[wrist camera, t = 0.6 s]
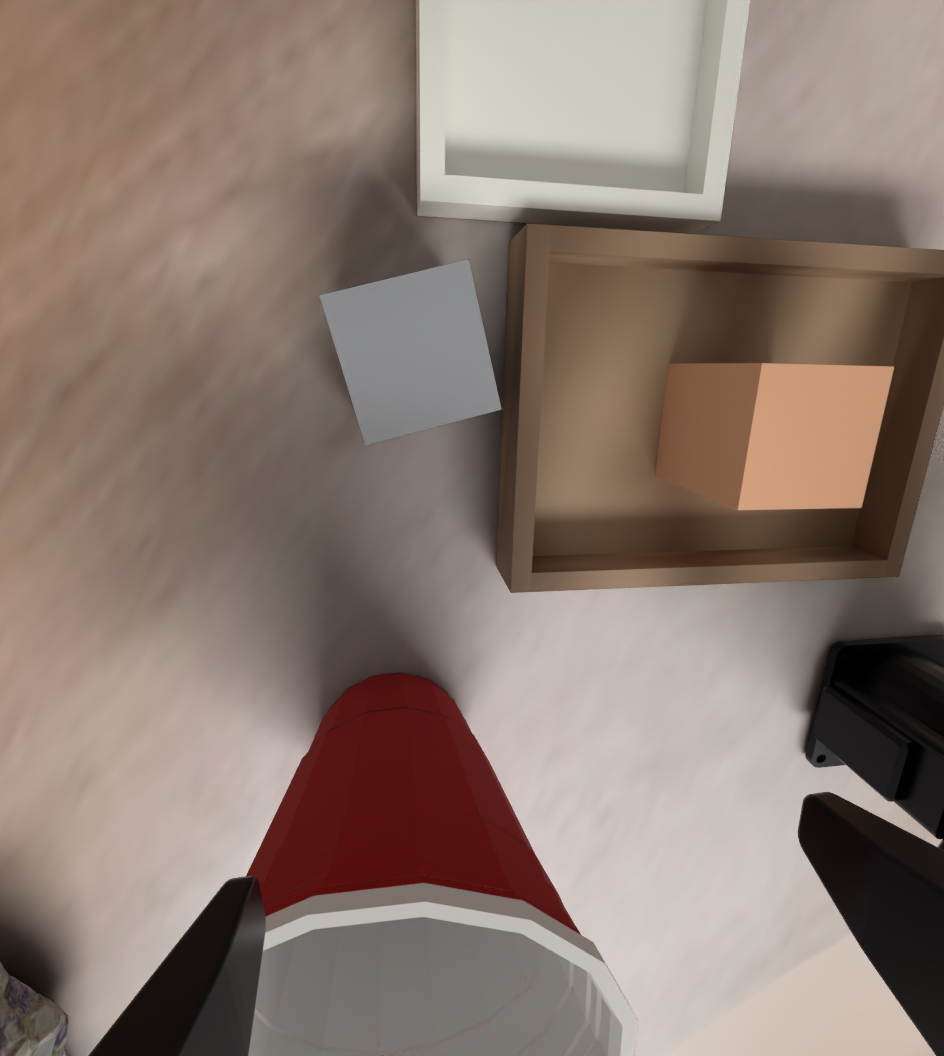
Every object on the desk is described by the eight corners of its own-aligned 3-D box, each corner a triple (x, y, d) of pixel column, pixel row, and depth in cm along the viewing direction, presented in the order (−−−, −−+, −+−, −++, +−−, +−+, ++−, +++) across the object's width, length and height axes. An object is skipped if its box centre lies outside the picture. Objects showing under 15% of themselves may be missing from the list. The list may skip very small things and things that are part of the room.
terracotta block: (771, 366, 20) (894, 366, 15) (752, 475, 21) (861, 508, 16) (668, 363, 19) (762, 363, 14) (654, 476, 20) (737, 510, 15)
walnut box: (913, 265, 20) (983, 252, 18) (846, 555, 23) (898, 576, 21) (508, 241, 18) (527, 223, 16) (496, 567, 21) (510, 592, 19)
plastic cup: (190, 729, 21) (-35, 1152, 10) (410, 562, 21) (442, 805, 9) (370, 880, 25) (358, 1322, 13) (563, 740, 24) (723, 1078, 13)
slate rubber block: (450, 281, 18) (468, 259, 14) (478, 400, 19) (501, 409, 16) (333, 310, 18) (319, 295, 14) (369, 429, 19) (365, 445, 15)
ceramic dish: (735, -122, 16) (774, -177, 14) (691, 233, 19) (720, 221, 17) (414, -178, 15) (418, -245, 13) (416, 215, 17) (420, 200, 16)
